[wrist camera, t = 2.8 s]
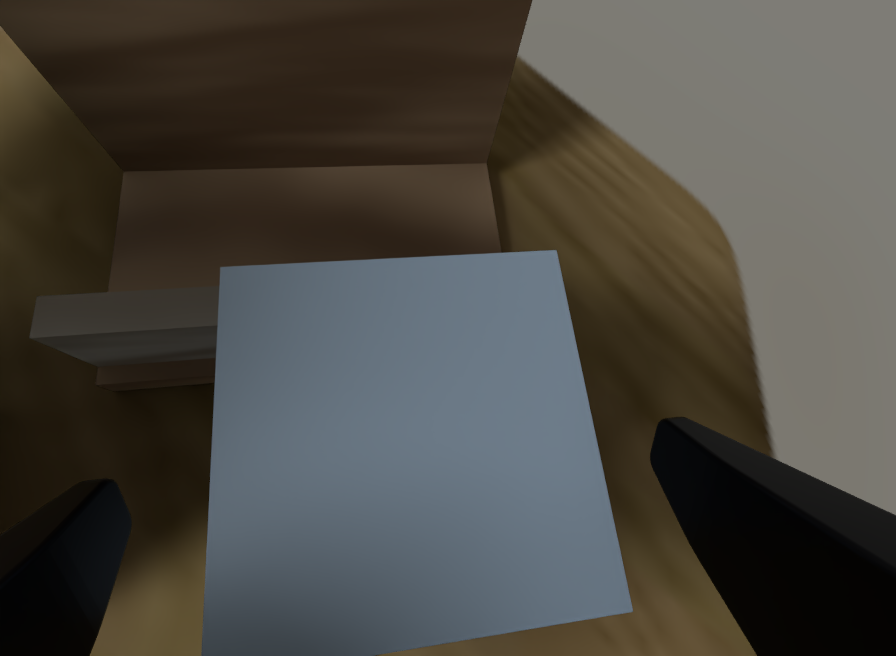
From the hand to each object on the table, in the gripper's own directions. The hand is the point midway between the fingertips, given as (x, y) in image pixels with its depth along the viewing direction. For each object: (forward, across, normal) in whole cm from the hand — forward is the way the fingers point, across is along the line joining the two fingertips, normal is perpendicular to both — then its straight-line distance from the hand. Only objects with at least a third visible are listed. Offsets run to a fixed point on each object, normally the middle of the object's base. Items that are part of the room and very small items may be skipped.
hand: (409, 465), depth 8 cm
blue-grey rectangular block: (+6, 0, +6) cm, 9 cm away
